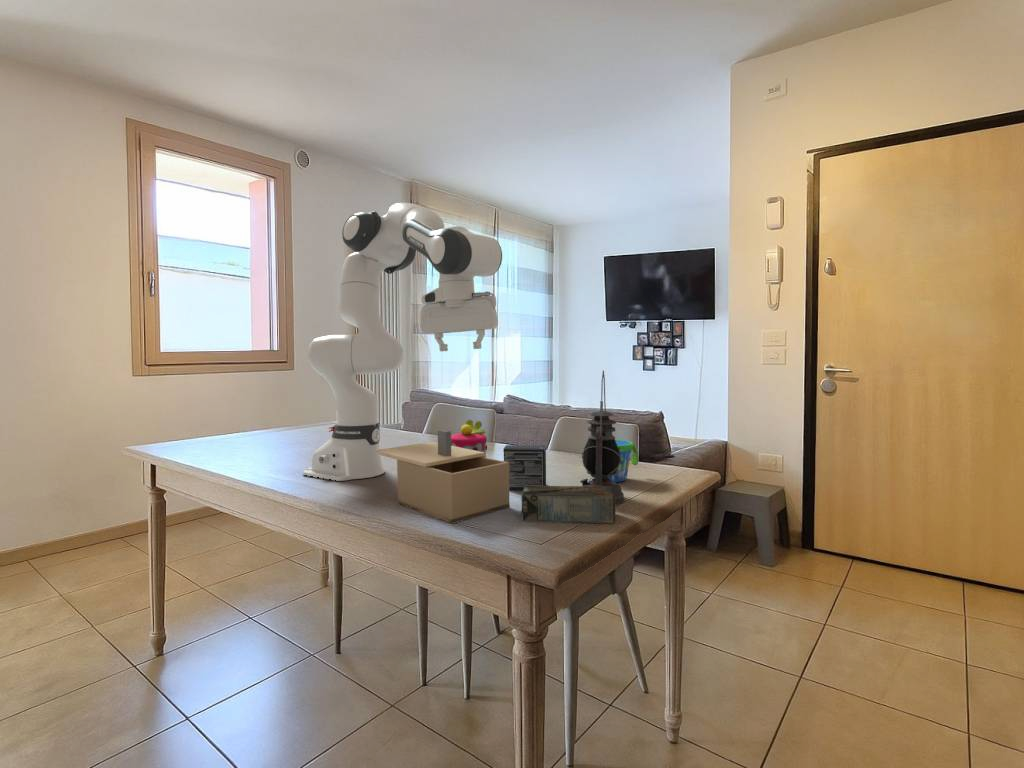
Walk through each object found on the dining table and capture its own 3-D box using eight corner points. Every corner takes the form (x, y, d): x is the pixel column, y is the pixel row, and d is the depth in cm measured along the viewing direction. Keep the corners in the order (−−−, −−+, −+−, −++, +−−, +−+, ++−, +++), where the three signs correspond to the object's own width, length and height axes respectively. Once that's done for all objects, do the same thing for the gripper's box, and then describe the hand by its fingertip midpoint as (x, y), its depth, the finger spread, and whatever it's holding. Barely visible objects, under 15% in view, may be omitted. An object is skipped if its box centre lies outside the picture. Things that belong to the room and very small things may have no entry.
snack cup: (627, 473, 151) (627, 437, 151) (648, 481, 141) (649, 443, 141) (577, 477, 146) (577, 440, 145) (595, 487, 136) (595, 447, 136)
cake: (485, 479, 145) (485, 424, 144) (446, 479, 145) (445, 424, 144) (488, 470, 155) (488, 418, 154) (452, 470, 156) (451, 418, 155)
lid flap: (375, 453, 128) (374, 427, 128) (432, 444, 140) (431, 420, 140) (425, 467, 114) (424, 437, 113) (484, 455, 125) (484, 428, 125)
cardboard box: (397, 503, 123) (397, 459, 122) (453, 490, 134) (453, 450, 133) (452, 523, 108) (451, 474, 108) (509, 506, 120) (509, 462, 119)
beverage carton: (524, 510, 118) (524, 481, 117) (613, 513, 115) (614, 483, 115) (520, 522, 110) (520, 490, 109) (616, 526, 107) (617, 493, 107)
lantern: (582, 490, 133) (582, 369, 131) (626, 493, 130) (627, 369, 128) (574, 504, 121) (575, 371, 119) (623, 508, 118) (624, 371, 116)
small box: (546, 484, 139) (546, 444, 139) (545, 491, 133) (545, 449, 132) (506, 483, 140) (505, 443, 140) (503, 490, 134) (502, 448, 133)
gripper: (500, 291, 134) (503, 347, 135) (428, 299, 142) (431, 352, 142) (490, 289, 128) (493, 347, 129) (415, 297, 136) (419, 352, 136)
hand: (460, 350), depth 136 cm, fingers open, 8 cm apart
